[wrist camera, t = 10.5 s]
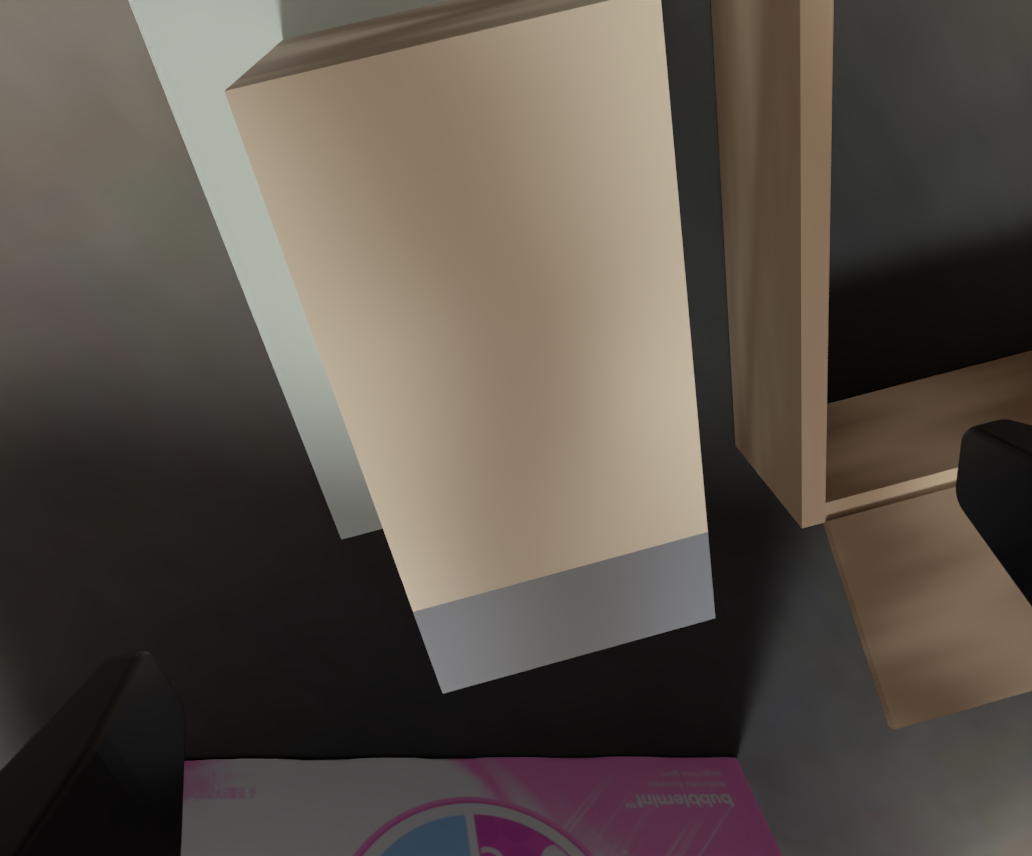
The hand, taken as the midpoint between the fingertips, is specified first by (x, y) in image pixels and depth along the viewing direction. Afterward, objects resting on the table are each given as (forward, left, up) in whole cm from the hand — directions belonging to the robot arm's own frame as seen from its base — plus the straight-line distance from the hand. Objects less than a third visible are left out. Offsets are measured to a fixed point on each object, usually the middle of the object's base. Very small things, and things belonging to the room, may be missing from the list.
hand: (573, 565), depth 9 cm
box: (0, 0, -11) cm, 11 cm away
